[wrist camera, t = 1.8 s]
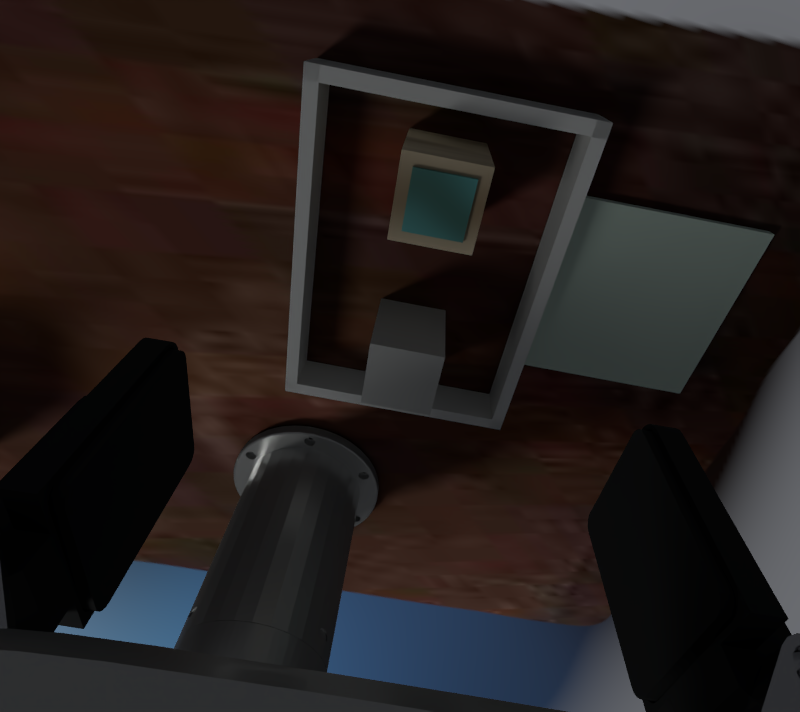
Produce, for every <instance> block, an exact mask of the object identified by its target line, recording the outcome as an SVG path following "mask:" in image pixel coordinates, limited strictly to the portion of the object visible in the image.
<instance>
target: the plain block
mask: <svg viewBox="0 0 800 712" xmlns="http://www.w3.org/2000/svg"><path fill="white" fill-rule="evenodd" d="M445 318H446V310H441V309H435V308H430V307H425V306H419V305H414V304H409V303H403V302H398V301H393V300H387V299H382V298H381V302H380V306H379V310H378V314H377V318H376V322H375V326H374V330H373V335H372V339H371V343H370V348H369V355H368V361H367V367H366V373H365V379H364V386H363V392H362V398H361V403H367V404H372V405H377V406H383V407H388V408H394V409H399V410H405V411H410V412H416V413H421V414H427V415H430V413H431V409H432V406H433V402H434V398H435V394H436V390H437V387H438V383H439V379H440V375H441V371H442V367H443V364H444V360H445Z"/></svg>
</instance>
